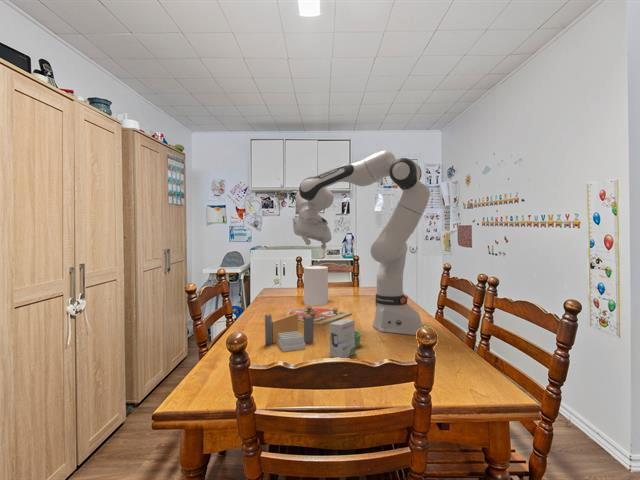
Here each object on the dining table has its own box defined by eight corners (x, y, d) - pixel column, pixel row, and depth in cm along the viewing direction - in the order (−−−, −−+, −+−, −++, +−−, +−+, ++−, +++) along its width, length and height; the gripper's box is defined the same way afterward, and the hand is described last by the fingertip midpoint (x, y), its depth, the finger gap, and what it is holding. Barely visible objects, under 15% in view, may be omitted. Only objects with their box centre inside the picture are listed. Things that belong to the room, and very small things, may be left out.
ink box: (341, 361, 122) (341, 325, 122) (328, 357, 126) (328, 322, 125) (356, 353, 129) (355, 320, 128) (343, 350, 132) (343, 317, 132)
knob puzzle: (318, 328, 161) (318, 318, 161) (269, 318, 179) (269, 309, 178) (354, 315, 184) (354, 306, 184) (307, 307, 202) (307, 298, 202)
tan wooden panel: (273, 343, 136) (273, 321, 136) (270, 342, 137) (269, 321, 137) (297, 333, 148) (297, 313, 147) (294, 333, 149) (294, 313, 148)
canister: (322, 299, 218) (322, 265, 217) (331, 304, 205) (331, 268, 204) (300, 301, 213) (300, 266, 212) (308, 306, 201) (308, 269, 200)
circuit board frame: (306, 334, 151) (306, 305, 150) (323, 350, 132) (323, 317, 131) (256, 340, 144) (256, 309, 143) (267, 358, 125) (267, 323, 125)
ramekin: (355, 350, 132) (355, 338, 132) (332, 346, 137) (332, 334, 136) (364, 343, 140) (364, 332, 140) (343, 339, 144) (343, 328, 144)
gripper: (296, 211, 161) (303, 237, 154) (329, 221, 175) (337, 246, 168) (287, 218, 165) (293, 245, 158) (321, 228, 178) (327, 253, 171)
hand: (316, 246), depth 163 cm, fingers open, 8 cm apart
